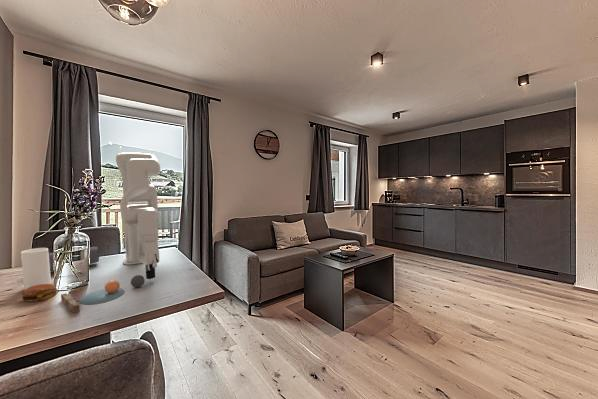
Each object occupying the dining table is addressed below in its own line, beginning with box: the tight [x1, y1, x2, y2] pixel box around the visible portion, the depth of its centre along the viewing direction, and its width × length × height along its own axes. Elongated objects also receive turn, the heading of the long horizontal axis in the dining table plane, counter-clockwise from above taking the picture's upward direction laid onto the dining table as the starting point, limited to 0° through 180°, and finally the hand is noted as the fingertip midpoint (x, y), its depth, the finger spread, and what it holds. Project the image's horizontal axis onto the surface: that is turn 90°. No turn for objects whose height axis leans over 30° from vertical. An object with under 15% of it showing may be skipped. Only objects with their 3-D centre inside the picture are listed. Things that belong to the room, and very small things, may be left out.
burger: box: [21, 283, 58, 303], centre depth 103 cm, size 10×9×5 cm
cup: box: [20, 247, 52, 291], centre depth 113 cm, size 8×8×16 cm
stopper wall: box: [60, 292, 81, 314], centre depth 96 cm, size 16×2×2 cm, turn 54°
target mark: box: [79, 288, 125, 305], centre depth 104 cm, size 14×14×1 cm
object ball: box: [104, 279, 121, 293], centre depth 106 cm, size 5×5×5 cm
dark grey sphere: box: [130, 274, 146, 288], centre depth 112 cm, size 5×5×5 cm
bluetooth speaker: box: [49, 246, 100, 272], centre depth 136 cm, size 23×9×10 cm, turn 134°
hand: (150, 278), depth 118 cm, fingers closed
